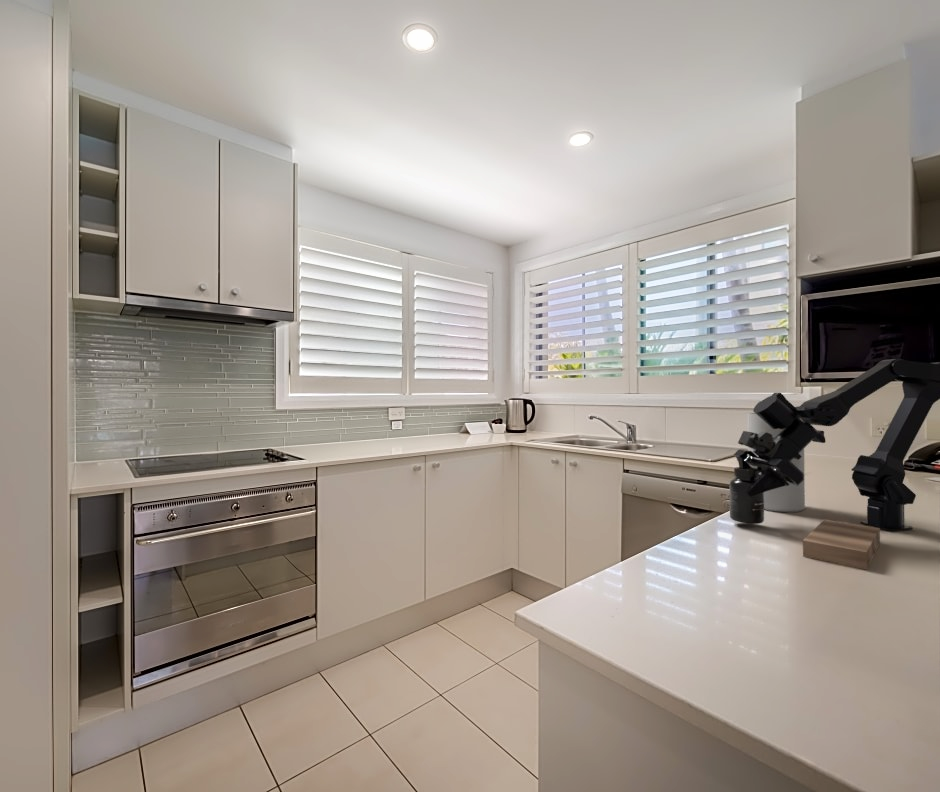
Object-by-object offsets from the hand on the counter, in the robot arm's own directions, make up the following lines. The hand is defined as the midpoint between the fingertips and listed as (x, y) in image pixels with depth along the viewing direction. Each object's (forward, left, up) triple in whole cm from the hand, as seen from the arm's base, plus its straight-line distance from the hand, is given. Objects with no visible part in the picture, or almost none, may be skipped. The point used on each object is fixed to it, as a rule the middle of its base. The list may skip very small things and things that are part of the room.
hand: (740, 491), depth 105 cm
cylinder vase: (-23, -12, -8) cm, 27 cm away
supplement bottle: (-1, +1, -7) cm, 7 cm away
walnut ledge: (-6, +18, -8) cm, 21 cm away
